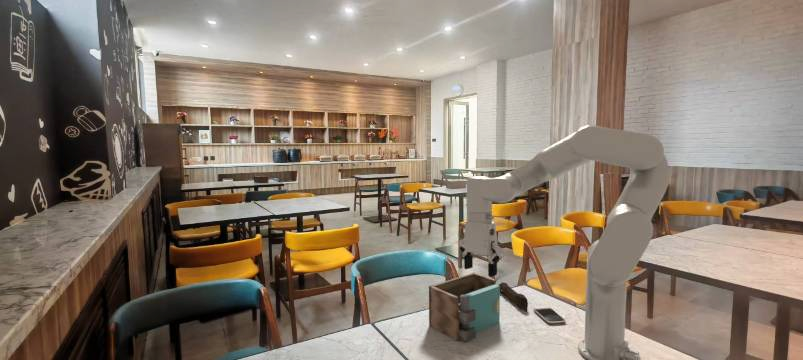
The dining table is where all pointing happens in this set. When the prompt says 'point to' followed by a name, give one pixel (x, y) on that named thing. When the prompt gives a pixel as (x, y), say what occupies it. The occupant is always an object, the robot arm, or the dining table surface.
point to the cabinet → (454, 305)
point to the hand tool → (514, 296)
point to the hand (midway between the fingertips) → (480, 271)
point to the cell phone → (549, 316)
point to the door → (482, 307)
